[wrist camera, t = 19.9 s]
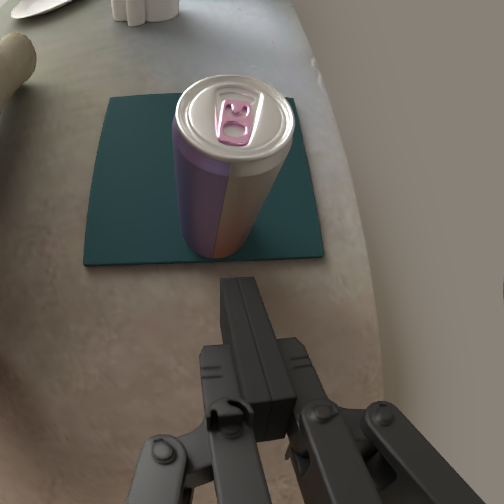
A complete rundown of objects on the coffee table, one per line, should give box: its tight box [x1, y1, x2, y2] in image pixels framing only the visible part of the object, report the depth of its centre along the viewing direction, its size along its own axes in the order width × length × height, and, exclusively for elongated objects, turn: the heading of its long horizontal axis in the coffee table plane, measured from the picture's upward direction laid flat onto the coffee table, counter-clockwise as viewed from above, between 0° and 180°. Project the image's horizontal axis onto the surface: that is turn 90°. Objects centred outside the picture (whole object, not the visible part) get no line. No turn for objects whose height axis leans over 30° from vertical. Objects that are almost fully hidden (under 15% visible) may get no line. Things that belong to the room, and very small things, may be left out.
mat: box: [83, 93, 324, 266], centre depth 29 cm, size 22×20×1 cm
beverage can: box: [172, 74, 295, 259], centre depth 20 cm, size 6×6×15 cm
